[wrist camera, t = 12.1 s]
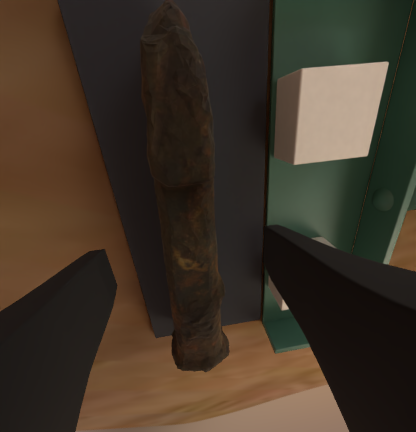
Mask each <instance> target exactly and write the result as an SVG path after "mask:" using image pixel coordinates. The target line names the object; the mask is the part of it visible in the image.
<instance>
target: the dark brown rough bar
mask: <svg viewBox="0 0 416 432" xmlns="http://www.w3.org/2000/svg"><path fill="white" fill-rule="evenodd" d="M140 58H141V76H142V85H141V99H142V102H143V105H144V109H145V113H146V116H147V159H148V162H149V166H150V172H151V175H152V177H154V188H155V194H156V200H157V206H158V213H159V219H160V224H161V237H162V243H163V255H164V263H165V268H166V276H167V282H168V289H169V296H170V303H171V311H172V317H173V324H174V330H173V333H172V337H173V339H172V356H173V358H174V361H175V364H176V365H177V368H178V369H181V370H182V371H201V370H202V371H204V372H207V371H210V370H211V369H212V368H214V367H215V366H216V365H217V364H219V363H220V362H222V360H223V359H225V358H226V357H227V356H228V354H229V352H230V351H229V342H228V339H227V337H226V335H225V334H224V333H223V331H222V326H221V320H220V319H221V315H220V307H221V302H222V299H223V297H225V286H224V283H223V280H222V278H221V276H220V274H219V272H218V254H217V240H216V228H215V210H214V176H215V159H214V155H215V143H214V137H213V115H212V110H211V104H210V99H209V90H208V84H207V79H206V71H205V65H204V62H203V59H202V56H201V54H200V53H199V52H198V48H197V46H196V45H195V43H194V41H193V38H192V35H191V32H190V28H189V22H188V21H187V19H186V17H185V16H184V14H183V13H182V11H181V10H180V8H179V7H178V6H177V4H176V3H175V2H174V1H173V0H165V2H164V3H163V4H162V5H161V6H160V7H159V8H158V9H156V10H155V11H154V12H152V13H151V14H150V15H149V19H148V23H147V25H146V26H145V28H144V31H143V34H142V37H141V41H140Z"/></svg>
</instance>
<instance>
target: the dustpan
mask: <svg viewBox="0 0 416 432" xmlns="http://www.w3.org/2000/svg"><path fill="white" fill-rule="evenodd" d="M412 3H413V0H273V19H272V49H271V78H270V107H269V137H268V166H267V196H266V225H265V226H269V225H276V224H277V225H281V226H283V227H286V228H288V229H291V230H293V231H295V232H298V233H300V234H302V235H305V236H307V237H309V238H316V237H323V238H324V239H326V240H327V241H328V242H330V243H331V244H332V245H333V246H335V247H336V248H337V249H339V250H342V251H345V252H347V253H350V254H351V252H352V254H353V255H356V256H360V257H363V258H366V259H369V260H373V261H376V262H379V263H383V264H387V265H388V264H389V261H390V259H391V256H392V253H393V250H394V247H395V244H396V241H397V238H398V235H399V232H400V230H401V227H402V224H403V221H404V218H405V215H406V212H407V211H408V210H415V209H416V0H414V3H413V7H412ZM411 7H412V11H411ZM410 11H411V16H410V20H409V24H408V28H407V23H408V19H409V15H410ZM406 28H407V32H406ZM405 32H406V36H405ZM404 36H405V40H404ZM403 40H404V44H403ZM402 44H403V48H402ZM401 48H402V52H401ZM400 52H401V56H400ZM399 56H400V60H399ZM398 60H399V64H398ZM375 62H389V65H388V69H387V73H386V78H385V82H384V86H383V91H382V95H381V100H380V104H379V108H378V113H377V117H376V122H375V126H374V130H373V135H372V139H371V143H370V148H369V152H368V155H367V156H365V157H357V158H348V159H340V160H332V161H323V162H315V163H307V164H298V165H293V164H290V163H287V162H285V161H282V160H279V159H277V158H274V144H275V121H276V98H277V80H278V79H279V78H281V77H283V76H286V75H288V74H290V73H293V72H295V71H297V70H300V69H302V68H313V67H325V66H338V65H350V64H362V63H375ZM397 64H398V68H397ZM396 68H397V72H396ZM395 72H396V76H395ZM394 77H395V80H394ZM393 81H394V84H393ZM392 85H393V89H392ZM391 89H392V93H391ZM390 93H391V97H390ZM389 97H390V101H389ZM388 101H389V105H388ZM387 105H388V109H387ZM386 109H387V113H386ZM385 113H386V117H385ZM384 117H385V121H384ZM383 121H384V125H383ZM382 126H383V129H382ZM381 130H382V133H381ZM380 134H381V137H380ZM379 138H380V141H379ZM378 142H379V145H378ZM377 146H378V149H377ZM376 150H377V153H376ZM375 154H376V158H375ZM374 158H375V162H374ZM373 162H374V166H373ZM372 166H373V170H372ZM371 170H372V174H371ZM370 175H371V178H370ZM369 179H370V182H369ZM368 183H369V186H368ZM367 187H368V190H367ZM366 191H367V194H366ZM365 195H366V198H365ZM364 199H365V202H364ZM363 203H364V206H363ZM362 207H363V210H362ZM361 211H362V214H361ZM360 215H361V218H360ZM359 219H360V222H359ZM358 224H359V226H358ZM357 228H358V231H357ZM356 232H357V235H356ZM355 236H356V239H355ZM354 240H355V243H354ZM353 244H354V247H353ZM352 248H353V251H352ZM268 283H269V274H268V272H267V270H266V268H265V265H264V284H263V313H262V324H263V326H264V328H265V331H266V333H267V336H268V338H269V340H270V343H271V345H272V348H273V350H274V352H275V354H276V353H282V352H287V351H292V350H297V349H302V348H307V347H310V345H309V343H308V341H307V339H306V337H305V335H304V333H303V331H302V330H301V328H300V326H299V324H298V323H297V321H296V320H295V318H294V316H293V315H292V313H291V312H290V310H289V309H288V310H281V309H280V307H279V305H278V303H277V301H276V299H275V298H274V296H273V294H272V292H271V290H270V289H269V287H268Z"/></svg>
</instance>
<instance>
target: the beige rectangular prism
mask: <svg viewBox="0 0 416 432" xmlns="http://www.w3.org/2000/svg"><path fill="white" fill-rule="evenodd" d="M388 65H389V62H375V63H362V64H350V65H338V66H325V67H313V68H302V69H300V70H297V71H295V72H293V73H290V74H288V75H286V76H283V77H281V78H279V79H278V80H277V98H276V121H275V144H274V158H277V159H279V160H282V161H285V162H287V163H290V164H293V165H298V164H307V163H315V162H323V161H332V160H340V159H348V158H357V157H365V156H367V155H368V152H369V148H370V143H371V139H372V135H373V130H374V126H375V122H376V117H377V113H378V108H379V104H380V100H381V95H382V91H383V86H384V82H385V78H386V73H387V69H388Z"/></svg>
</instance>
